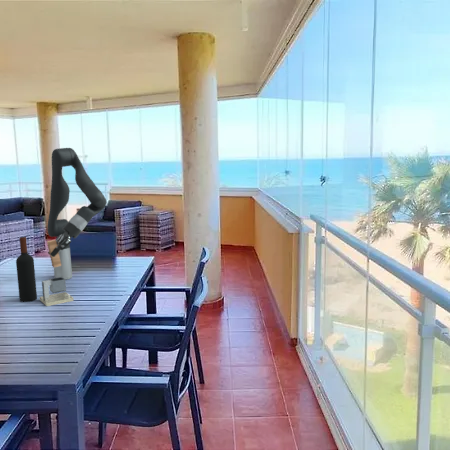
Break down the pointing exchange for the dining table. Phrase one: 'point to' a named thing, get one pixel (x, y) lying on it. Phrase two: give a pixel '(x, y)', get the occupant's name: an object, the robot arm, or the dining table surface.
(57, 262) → the tan wooden block
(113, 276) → the dining table surface
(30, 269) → the wine bottle
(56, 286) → the cup bracket
